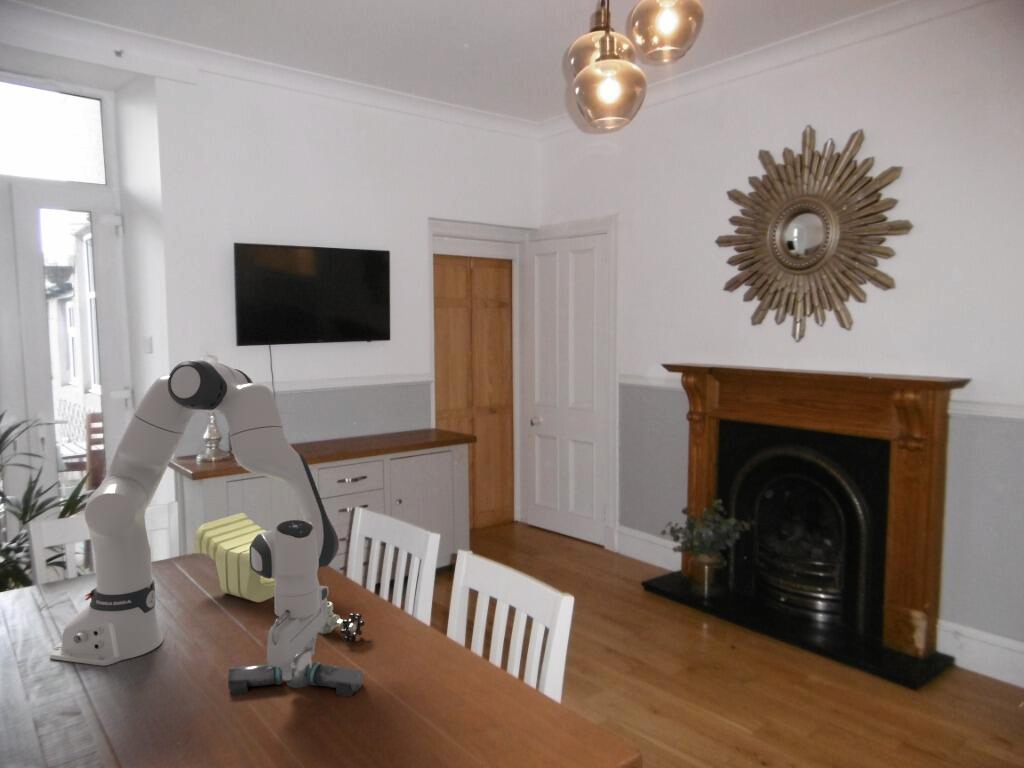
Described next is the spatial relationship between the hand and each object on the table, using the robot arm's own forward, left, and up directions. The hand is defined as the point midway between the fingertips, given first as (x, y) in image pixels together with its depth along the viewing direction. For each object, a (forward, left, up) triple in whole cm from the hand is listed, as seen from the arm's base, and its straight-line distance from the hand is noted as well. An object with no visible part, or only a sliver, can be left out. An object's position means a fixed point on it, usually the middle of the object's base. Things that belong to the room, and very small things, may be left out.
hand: (299, 666), depth 148 cm
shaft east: (+8, -2, -3) cm, 9 cm away
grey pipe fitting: (-8, -2, -3) cm, 9 cm away
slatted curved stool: (-27, +47, -3) cm, 54 cm away
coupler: (0, 0, -3) cm, 3 cm away
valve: (+2, +22, -3) cm, 22 cm away
